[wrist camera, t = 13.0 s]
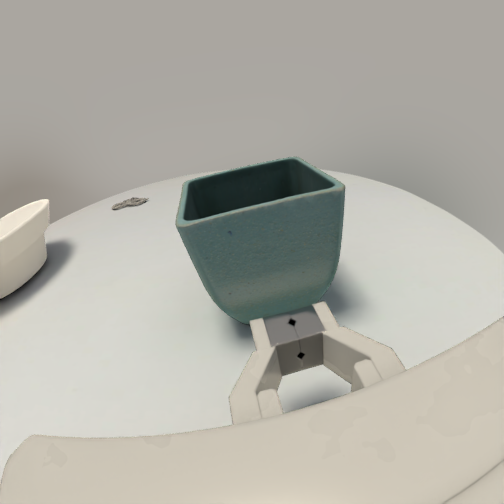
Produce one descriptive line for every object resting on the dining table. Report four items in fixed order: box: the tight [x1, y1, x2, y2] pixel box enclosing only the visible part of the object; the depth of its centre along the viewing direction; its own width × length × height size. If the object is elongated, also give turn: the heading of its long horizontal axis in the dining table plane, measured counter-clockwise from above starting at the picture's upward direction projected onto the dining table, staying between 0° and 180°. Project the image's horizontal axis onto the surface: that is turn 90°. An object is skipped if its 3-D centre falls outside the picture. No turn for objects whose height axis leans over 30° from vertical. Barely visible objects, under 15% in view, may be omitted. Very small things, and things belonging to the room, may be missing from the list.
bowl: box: [0, 199, 49, 299], centre depth 32 cm, size 21×21×8 cm
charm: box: [112, 198, 149, 209], centre depth 51 cm, size 8×1×4 cm
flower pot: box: [176, 157, 345, 324], centre depth 20 cm, size 9×9×9 cm
